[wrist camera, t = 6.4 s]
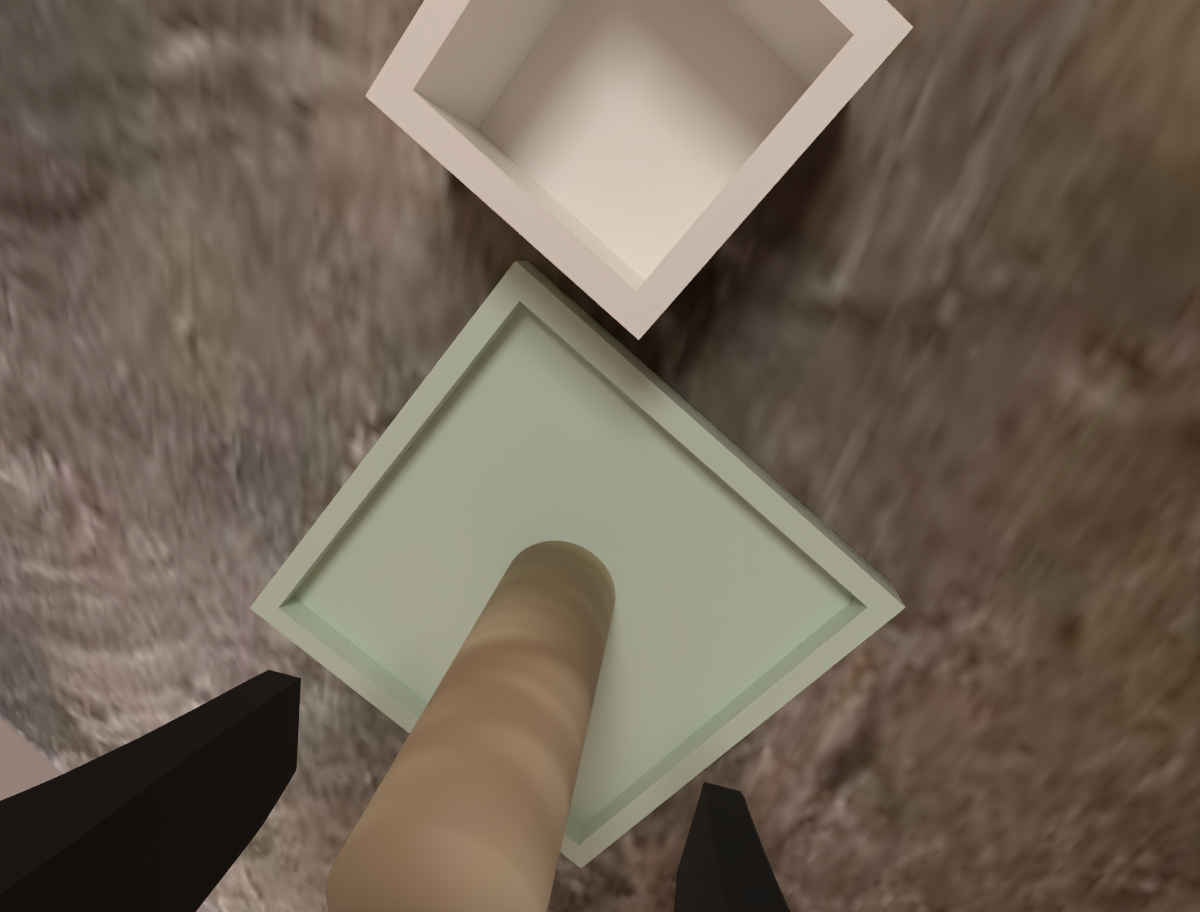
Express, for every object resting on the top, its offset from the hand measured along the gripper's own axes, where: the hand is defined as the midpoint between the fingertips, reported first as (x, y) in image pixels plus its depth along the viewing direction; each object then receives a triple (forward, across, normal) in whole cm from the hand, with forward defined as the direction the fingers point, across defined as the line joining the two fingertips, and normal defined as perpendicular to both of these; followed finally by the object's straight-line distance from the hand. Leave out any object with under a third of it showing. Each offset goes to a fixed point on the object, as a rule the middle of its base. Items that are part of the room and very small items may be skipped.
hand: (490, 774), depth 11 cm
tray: (+7, 0, 0) cm, 7 cm away
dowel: (+6, 0, 0) cm, 6 cm away
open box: (+7, 0, -12) cm, 14 cm away
